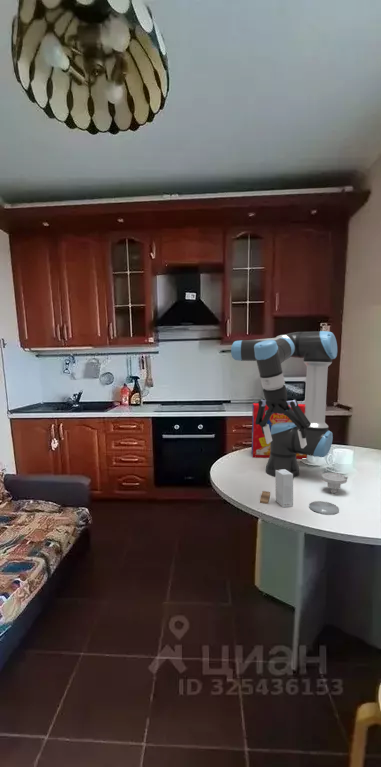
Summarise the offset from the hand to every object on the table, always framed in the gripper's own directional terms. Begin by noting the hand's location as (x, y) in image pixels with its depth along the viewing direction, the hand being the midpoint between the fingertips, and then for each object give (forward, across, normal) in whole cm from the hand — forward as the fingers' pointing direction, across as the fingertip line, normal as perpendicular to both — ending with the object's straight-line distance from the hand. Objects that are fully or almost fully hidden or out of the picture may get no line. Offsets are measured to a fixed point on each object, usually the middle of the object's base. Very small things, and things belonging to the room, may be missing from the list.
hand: (286, 444), depth 128 cm
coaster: (+27, +7, +5) cm, 28 cm away
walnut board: (+23, -13, -2) cm, 27 cm away
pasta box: (+36, -41, +49) cm, 74 cm away
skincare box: (+24, -5, -2) cm, 25 cm away
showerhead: (+32, +2, +22) cm, 39 cm away
